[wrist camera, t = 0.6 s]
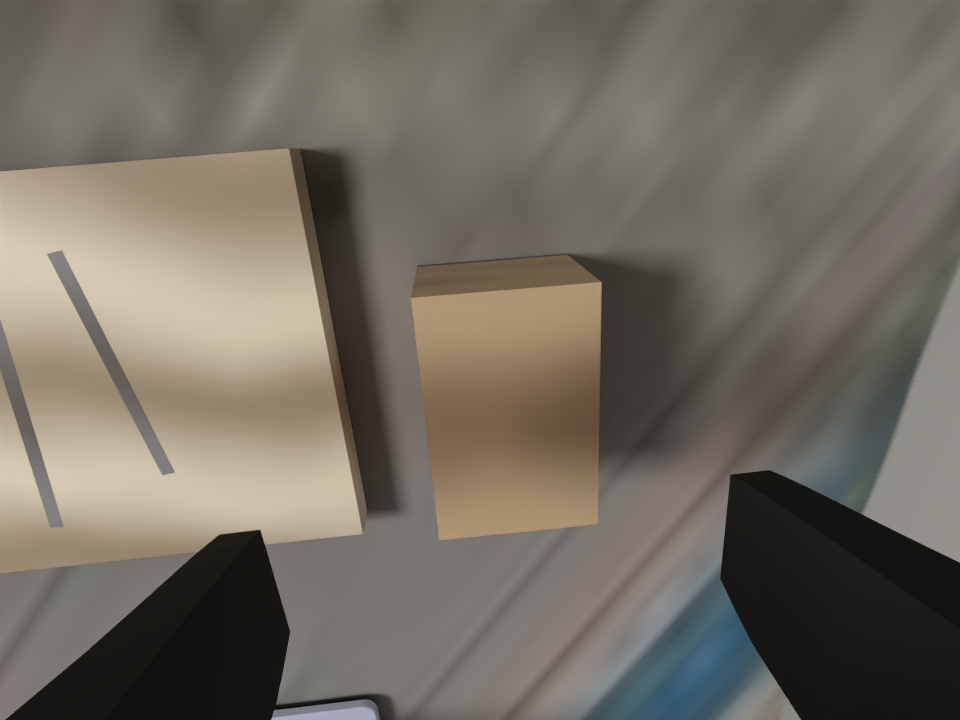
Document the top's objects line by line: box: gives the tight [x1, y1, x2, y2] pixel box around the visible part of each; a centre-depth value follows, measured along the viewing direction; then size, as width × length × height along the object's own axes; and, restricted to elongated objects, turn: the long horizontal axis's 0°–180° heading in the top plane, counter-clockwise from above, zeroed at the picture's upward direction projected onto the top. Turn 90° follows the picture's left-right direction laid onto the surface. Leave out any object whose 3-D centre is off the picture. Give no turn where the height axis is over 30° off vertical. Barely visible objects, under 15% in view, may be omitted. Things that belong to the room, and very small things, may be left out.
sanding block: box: [411, 254, 602, 540], centre depth 16 cm, size 7×4×4 cm, turn 4°
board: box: [0, 148, 367, 573], centre depth 16 cm, size 12×18×1 cm, turn 94°
